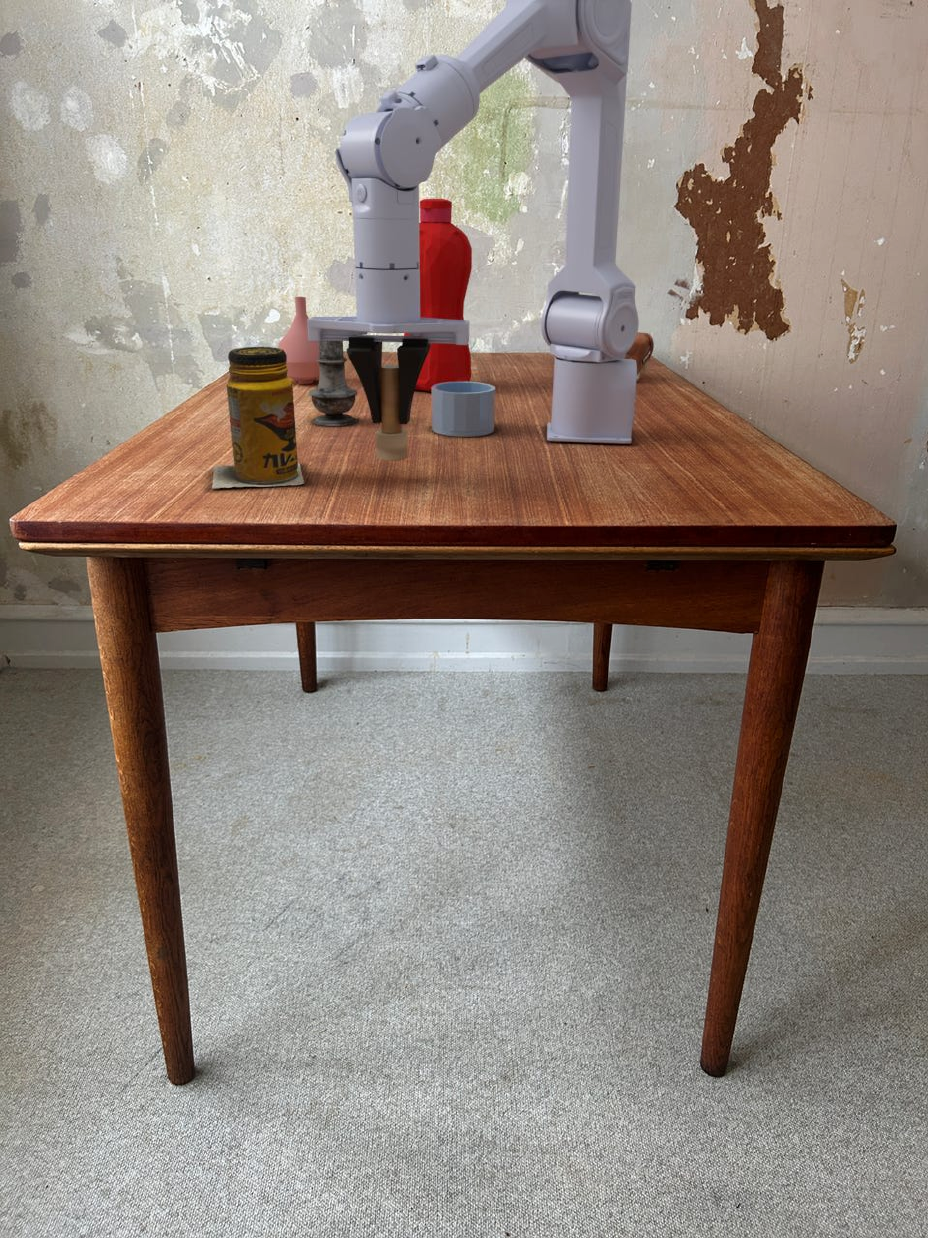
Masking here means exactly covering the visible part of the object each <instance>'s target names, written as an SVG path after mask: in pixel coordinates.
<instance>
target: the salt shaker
mask: <svg viewBox="0 0 928 1238" xmlns="http://www.w3.org/2000/svg"><path fill="white" fill-rule="evenodd" d="M316 361H317V362H318V363H319V371H320V377H319V378H318V379H319V380H318V384H317V386H316V387H315V388H314V389H310V391H308V395H309V396H311V403H312V405H313V406H314V408H315V409H316V410H317V411H318V412H319V413H322V414H321V415H320V414H319V415H317V416H316V417H315V418H314V419H313V420H312V423H313V424H314V425H317V426H321V427H346V426H350V425H354V424H356V423H357V419H356V418H355V417H353V416H352V415H349V414H345V413H349V412H350V411H351V409H352V408H353V407H354V405H355V402H356V396H357V395H358V393H359V392H358V390H356V389H355V388H351V387H350V386H349V385H348V383H347V378H346V365H345V363H346V362H347V361H348V359H347V358H346V357H345V355H344V341H328V340H321V341H319V358H318V359H316Z"/></svg>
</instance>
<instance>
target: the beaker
mask: <svg viewBox="0 0 928 1238" xmlns="http://www.w3.org/2000/svg"><path fill="white" fill-rule="evenodd" d="M496 389H497V388H496V386H495V385H492V384H491V383H485V382H478V381H470V382H462V381H461V382H460V381H459V382H445V383H439V384H435V385H433V386H432V392H431V430H432V431H433V432H434V433H435V434H438V435H442V436H445V437H446V436H447V437H452V438H453V437H454V438H455V437H456V438H474V437H475V438H477V437H483V436H487V435H490V434H492V433H493V432H494V431H495V422H496Z"/></svg>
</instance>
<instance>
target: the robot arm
mask: <svg viewBox="0 0 928 1238" xmlns="http://www.w3.org/2000/svg"><path fill="white" fill-rule="evenodd" d="M632 7H633V3H632V1H631V0H506V1H505V6H504V7H503V8H502V10H501V11H500V12H499V13H498V14H497V15H496V16H495V17H494V18H493V19H492V20H491V21H490V22H489V23H488V24H487V25H486V26H485V27H484V28H483V29H482V30H481V31H480V32H479V33H478V35H477V36H476V37H474V38H473V39H472V40H471V42H469V44H468V45H467V46H466V47H465V48H463V50H462V51H461V52H460V53H459V54H458V55H456V57H453V56H450V55H447V54H438V55H435V54H431V55H425V56H422V57H421V58H419V60H417V61H416V62H415V63H414V67H415V69H416V72H415V74H413V75H412V76H411V77H410V78H409V79H407V80H406V81H405V82H404V83H403V84H402V85H400V86H399V87H398V88H397V89H396V90H387V91H385V92H384V93H383V94H382V95H381V96H380V97H379V102H380V104H379V105H378V106H377V109H376V111H375V112H369V113H368V112H367V113H366V112H365V113H360V114H357V115H356V116H354V117H352V118H351V119H350V120H349V121H348V123H347V124H346V125H345V128H344V130H343V133H342V135H341V139H340V143H339V147H338V148H335V150H334V153H335V154H334V155H335V161H336V164H337V167H338V170H339V172H340V174H341V176H342V178H343V179H344V180H345V182H346V185H347V189H348V202H349V203H350V204H351V207H352V220H353V221H352V226H353V248H354V249H353V252H354V277H355V278H354V279H355V304H356V305H355V306H356V307H355V308H356V316H312V317H308V318H309V319H308V320H307V323H308V339H309V341H321V340H328V341H343V342H348V345H347V348H346V354H347V357H348V359H349V361H350V363H351V365H352V366H353V368H354V371H355V372H356V374H357V376H358V379H359V381H360V383H361V385H362V388H363V391H364V394H365V397H366V400H367V404H368V407H369V411H370V412H369V413H370V416H371V422H372V424H380V425H381V411H380V379H379V367H380V366H383V364H382V361H383V343H403V345H402V344H401V345H399V346H398V347H397V348H396V355H397V366H398V367H399V381H400V400H399V424H402V425H408V424H409V422H410V421H411V411H412V404H413V399H414V395H415V388H416V384H417V381H418V378H419V375H420V372H421V370H422V367H423V364H424V362H425V360H426V357H427V355H428V353H429V350H430V348H431V344H430V343H449V344H456V345H468V344H469V343H470V320H466V319H464V320H447V319H433V318H420V268H419V267H420V251H419V223H420V184H422V183H425V182H427V181H428V179H429V177H430V176H431V174H432V171H433V168H434V165H435V158H436V155H437V153H438V152H439V151H441V150H442V149H443V148H444V147H445V146H447V144H448V143H449V142H450V141H451V140H452V139H454V138H455V137H456V135H458V134H459V133H460V132H461V131H462V130H463V129H464V128H465V127H467V125H469V124H470V123H471V122H472V121H473V120H474V119H475V118H476V116H477V115H478V112H479V109H480V99H481V98H480V94H481V93H482V92H484V91H485V90H486V89H487V88H489V87H490V86H491V85H493V84H494V83H495V82H496V81H498V80H499V79H501V77H503V76H504V75H505V74H506V73H507V72H509V71H510V70H511V69H513V68H514V67H515V66H516V65H517V64H518V63H520V62H521V61H523V60H524V59H525V60H526V61H527V62H529V63H530V64H532V65H533V67H536V68H537V69H538V70H540V71H541V72H542V73H544V74H545V75H546V76H547V77H549V78H551V80H553V81H554V82H556V83H557V84H560V86H561V87H562V88H563V90H564V92H566V94H568V96H569V98H570V102H571V103H570V125H569V126H570V128H569V155H568V178H567V179H568V181H567V182H568V183H567V205H566V206H567V207H566V208H567V210H566V232H565V233H566V234H565V257H564V259H565V260H564V261H565V262H564V265H563V267H562V268H561V269H559V271H558V272H557V273H556V274H555V275H554V276H553V277H552V278H551V279H550V280H549V282H548V283H547V297H546V302H545V304H544V308H543V310H542V314H541V318H540V319H541V320H540V329H541V334H542V337H543V340H544V342H545V343H546V345H547V346H549V347H550V349H549V355H551V356H554V362H553V363H554V365H553V385H552V400H551V402H552V403H551V418H550V419H551V420H550V422H547V425H546V426H547V427H546V441H548V442H563V443H564V442H565V443H570V442H571V443H590V444H591V443H593V444H594V443H595V444H596V443H597V444H625V445H630V444H632V442H633V441H632V440H633V439H632V436H633V435H632V434H633V426H634V425H635V416H636V415H635V414H636V411H635V402H636V392H637V381H638V380H637V364H636V360H633V359H632V358H630V359H624V358H625V354H626V353H627V352H628V351H629V350H630V348H631V347H632V345H633V343H634V341H635V339H636V336H637V332H638V331H639V326H640V325H639V314H638V309H637V305H636V285H635V283H634V282H633V281H632V280H631V279H630V278H629V276H627V275H626V274H625V273H624V272H623V271H622V270H621V269H620V268H619V266H617V263H616V261H617V245H618V228H619V226H618V225H619V211H620V198H621V197H620V195H621V178H622V165H623V163H622V162H623V147H624V146H623V144H624V133H625V132H624V131H625V116H626V115H625V113H626V95H627V79H628V78H627V77H628V71H629V56H630V40H631V39H630V38H631V23H632ZM582 293H583V294H582ZM584 293H585V294H584ZM591 294H592V295H591ZM368 333H370V334H368ZM404 333H408V334H409V335H411V336H404V335H388V334H404ZM376 334H377V335H376ZM380 334H381V335H380ZM383 334H384V335H383ZM386 334H387V335H386ZM636 380H637V381H636Z"/></svg>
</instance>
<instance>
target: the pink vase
mask: <svg viewBox="0 0 928 1238" xmlns="http://www.w3.org/2000/svg"><path fill="white" fill-rule="evenodd" d="M294 305H295V315H294V318H293V320H292V323H291V325H290V327H289V330H288V331H287V332H286V333H285V334H284V335H283V337H282V338H281V340H280V341H279V342H278V346H277V348H279V349H282V350H284V352H285V353H286V355H287V362H286V363H287V368H288V372H287V376H288V377H289V379H292V380H295V381H296V382H297V384H300V385H310V384H313V383H314V380H317V379H320V371H319V363H318V362H317V361H316V359H318V358H319V341H309V339H308V323H307V320H308V319H309V318H310V317H309V316H308V315H307V314H308V313H307V297H306V296H295V297H294Z"/></svg>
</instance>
